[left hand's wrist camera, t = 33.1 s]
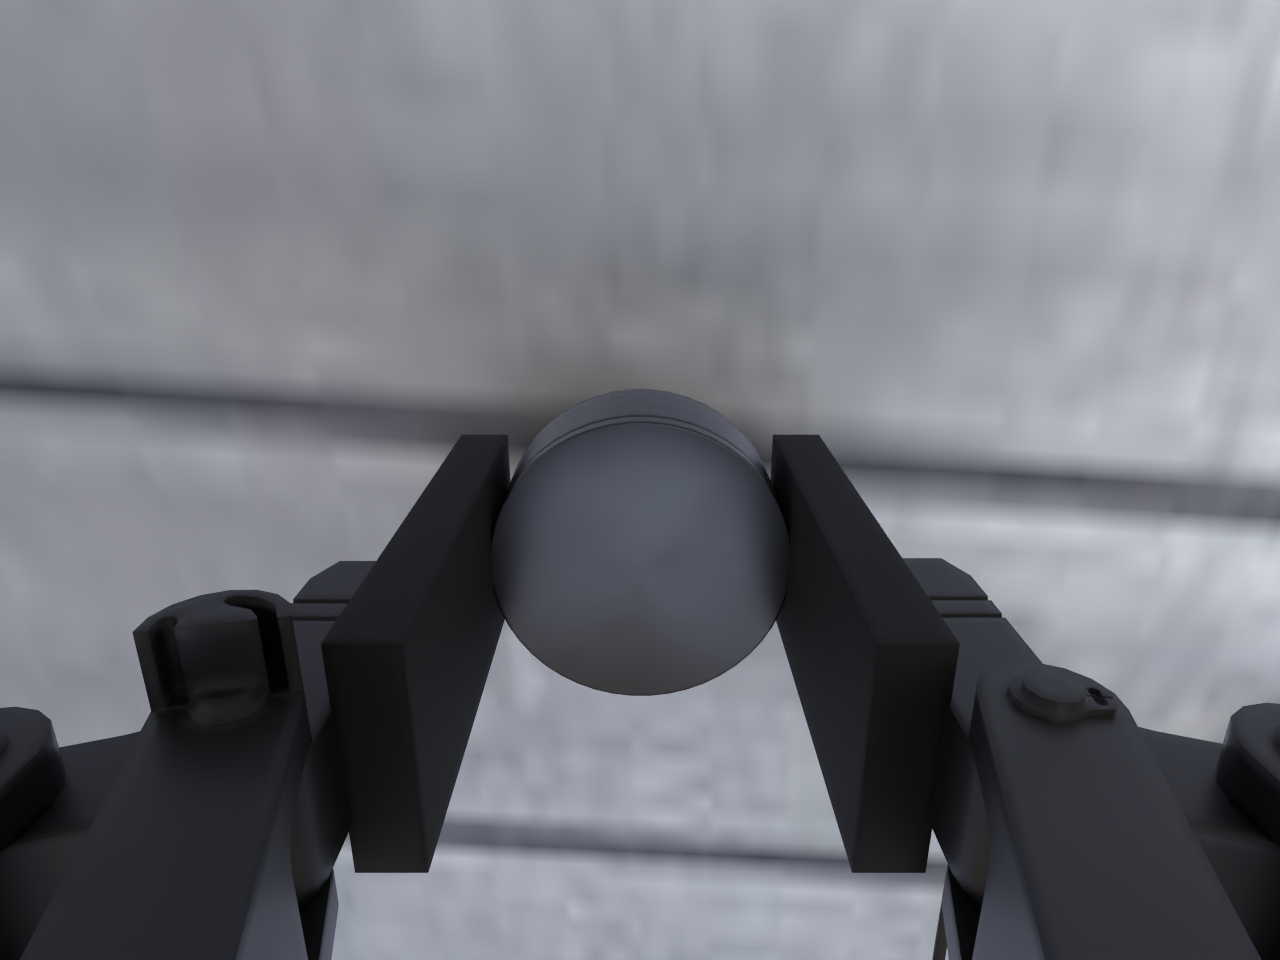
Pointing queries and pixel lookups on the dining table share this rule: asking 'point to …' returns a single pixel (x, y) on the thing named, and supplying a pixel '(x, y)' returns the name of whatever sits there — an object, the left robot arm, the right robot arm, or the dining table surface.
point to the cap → (640, 545)
